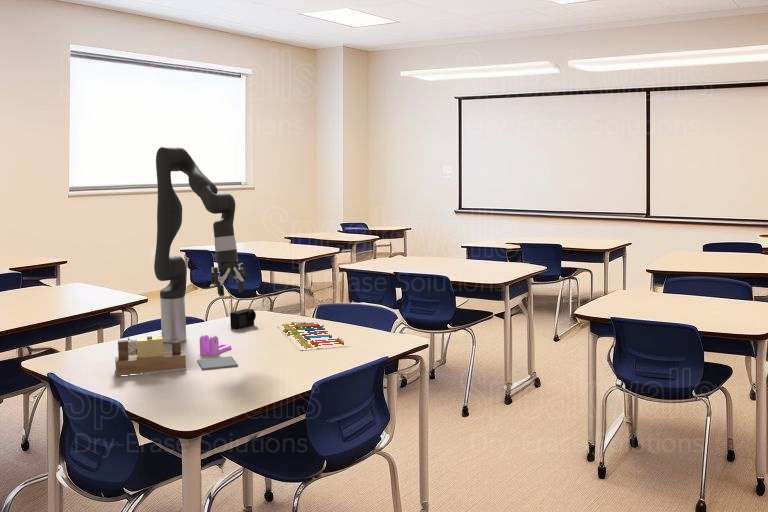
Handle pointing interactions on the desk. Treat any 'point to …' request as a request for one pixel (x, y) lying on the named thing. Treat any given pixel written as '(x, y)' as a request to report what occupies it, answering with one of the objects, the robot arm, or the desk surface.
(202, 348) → the bracket
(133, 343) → the game die
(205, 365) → the mat
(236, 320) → the digital camera
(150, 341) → the lever cap
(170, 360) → the plane body
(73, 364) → the desk surface
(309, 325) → the gear board
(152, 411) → the desk surface
